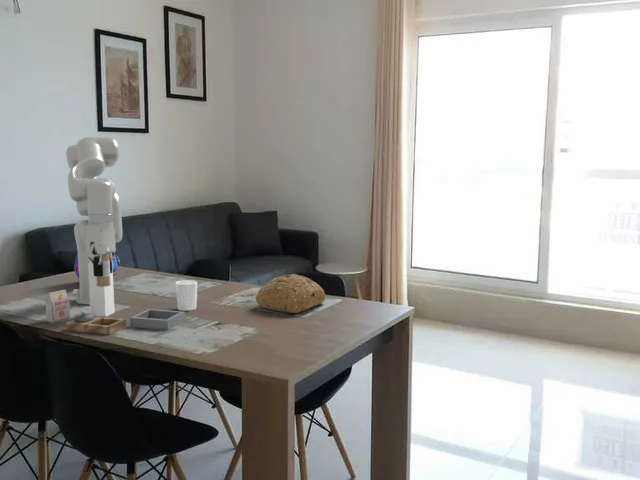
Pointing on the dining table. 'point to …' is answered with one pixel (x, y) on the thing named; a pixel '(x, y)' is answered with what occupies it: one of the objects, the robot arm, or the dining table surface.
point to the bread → (290, 294)
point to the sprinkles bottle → (104, 271)
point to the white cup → (186, 294)
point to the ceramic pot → (114, 263)
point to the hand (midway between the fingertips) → (103, 274)
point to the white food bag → (57, 306)
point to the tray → (157, 319)
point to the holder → (95, 324)
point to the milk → (100, 295)
